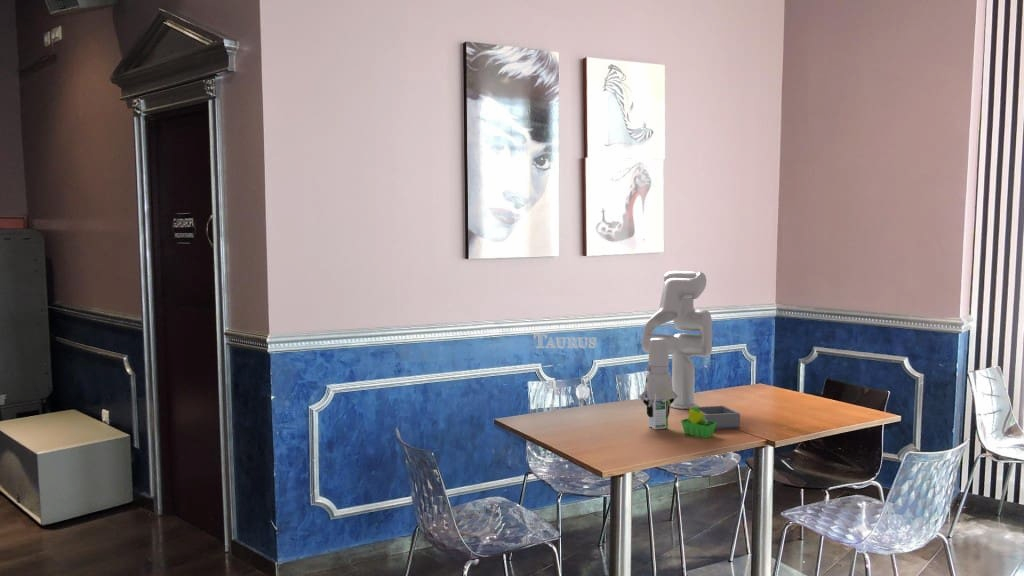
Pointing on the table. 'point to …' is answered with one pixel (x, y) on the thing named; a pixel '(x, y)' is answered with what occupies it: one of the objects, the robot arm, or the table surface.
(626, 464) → the table surface
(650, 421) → the syrup box
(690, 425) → the fruit basket
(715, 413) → the bin
